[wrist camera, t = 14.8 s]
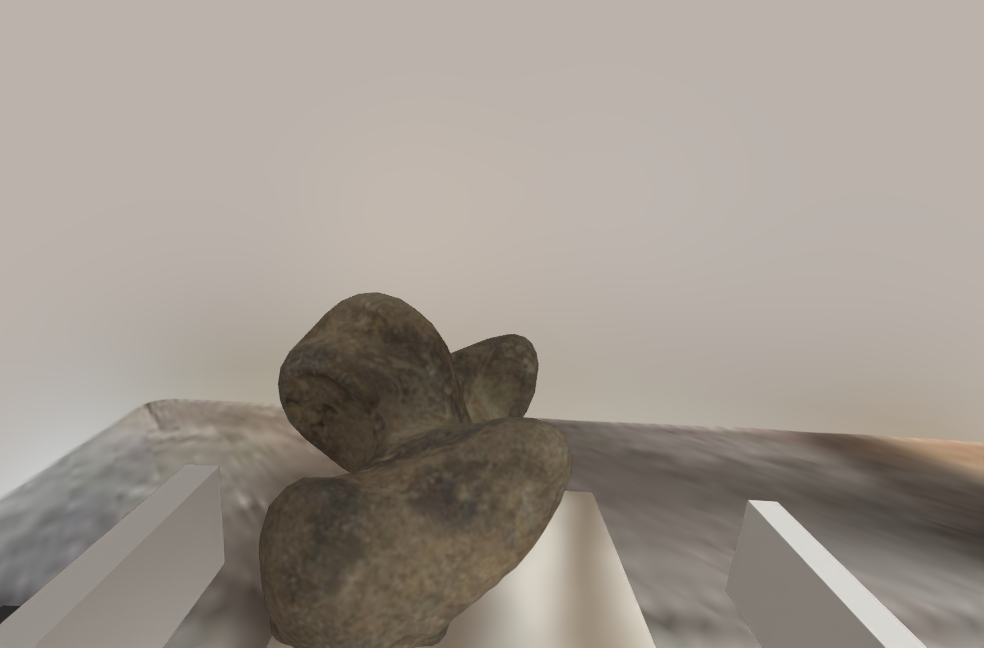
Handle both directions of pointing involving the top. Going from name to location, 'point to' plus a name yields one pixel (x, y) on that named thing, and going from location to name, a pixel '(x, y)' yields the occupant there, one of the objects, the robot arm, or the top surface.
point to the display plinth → (556, 593)
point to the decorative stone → (404, 479)
